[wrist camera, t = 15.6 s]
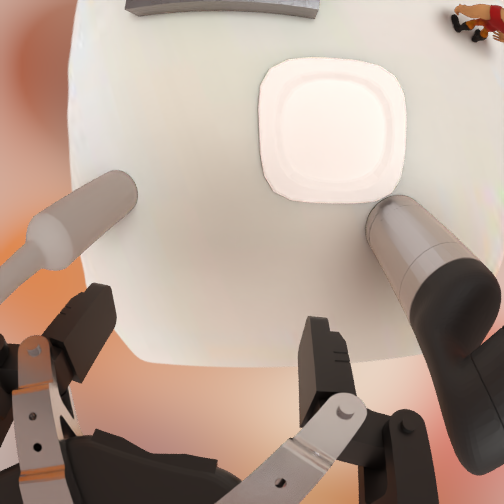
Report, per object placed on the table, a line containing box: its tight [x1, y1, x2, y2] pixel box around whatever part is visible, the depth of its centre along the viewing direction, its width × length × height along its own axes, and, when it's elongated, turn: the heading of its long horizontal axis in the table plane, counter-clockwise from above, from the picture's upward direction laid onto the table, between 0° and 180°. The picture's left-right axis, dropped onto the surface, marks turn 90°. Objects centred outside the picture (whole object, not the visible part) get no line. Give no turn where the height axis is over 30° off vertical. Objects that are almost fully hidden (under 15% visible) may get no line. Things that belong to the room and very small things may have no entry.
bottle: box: [0, 170, 138, 304], centre depth 27 cm, size 7×7×28 cm
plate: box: [258, 57, 407, 204], centre depth 33 cm, size 18×18×2 cm
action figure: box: [452, 4, 504, 42], centre depth 17 cm, size 10×4×15 cm, turn 78°
